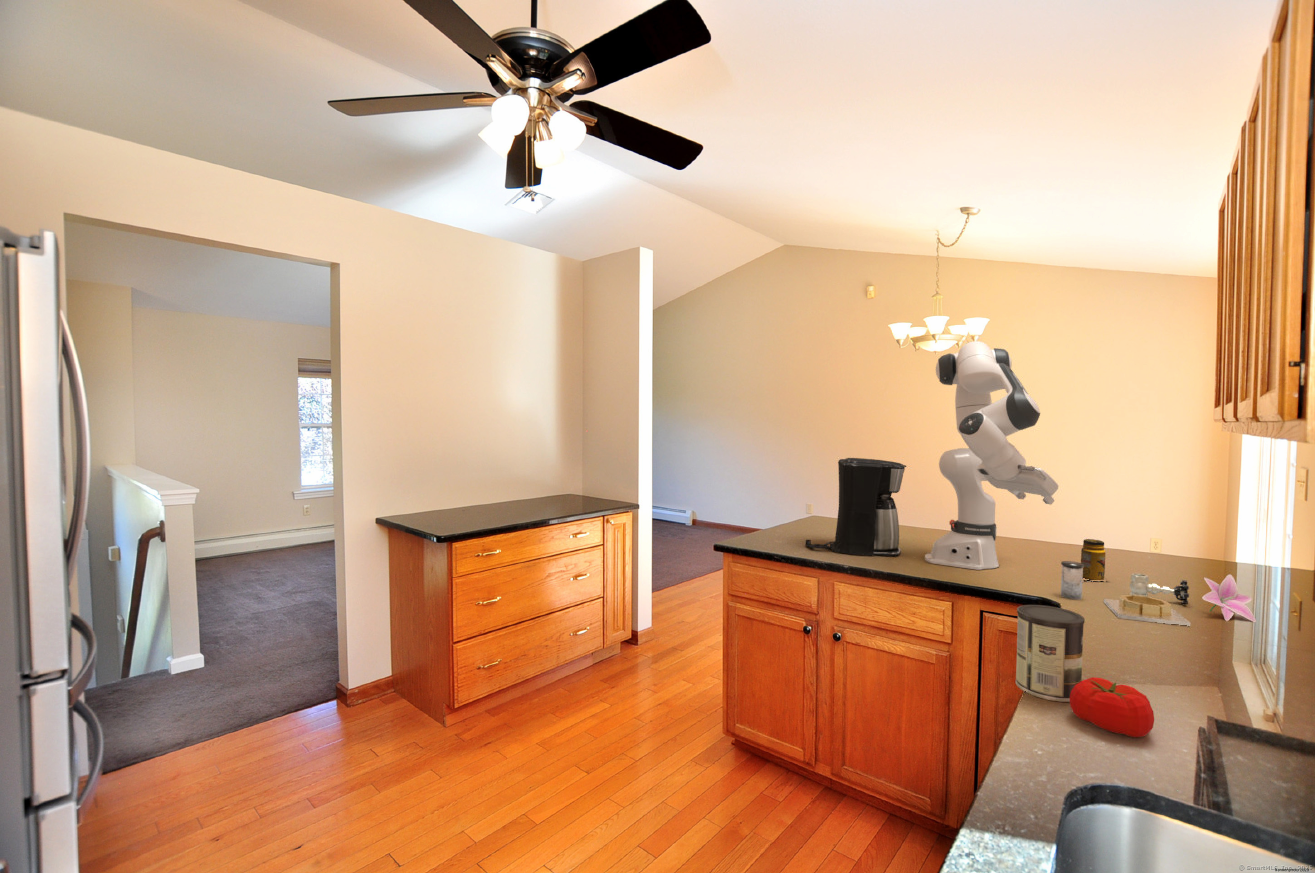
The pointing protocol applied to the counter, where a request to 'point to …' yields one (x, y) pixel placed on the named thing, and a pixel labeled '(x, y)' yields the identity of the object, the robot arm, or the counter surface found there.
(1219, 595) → the lily
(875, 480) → the coffee maker
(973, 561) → the robot arm
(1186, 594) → the valve
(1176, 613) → the flange
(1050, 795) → the counter surface
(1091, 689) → the tomato
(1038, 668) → the coffee can
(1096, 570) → the condiment
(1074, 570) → the black-capped jar
